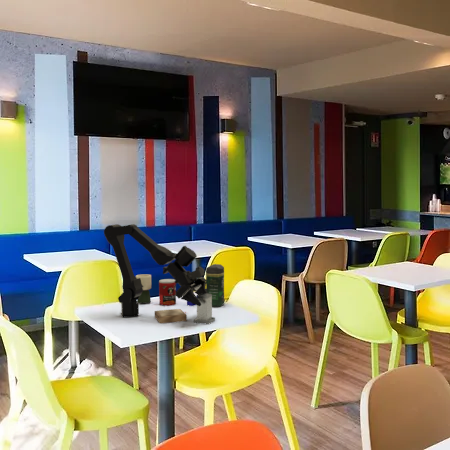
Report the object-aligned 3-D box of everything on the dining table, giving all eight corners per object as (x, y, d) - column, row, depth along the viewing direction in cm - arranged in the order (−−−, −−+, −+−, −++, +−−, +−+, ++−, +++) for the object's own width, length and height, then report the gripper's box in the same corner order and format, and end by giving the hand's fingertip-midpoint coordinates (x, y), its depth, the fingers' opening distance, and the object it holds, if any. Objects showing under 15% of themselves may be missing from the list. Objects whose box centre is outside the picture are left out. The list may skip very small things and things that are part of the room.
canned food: (163, 306, 245) (162, 282, 244) (156, 303, 252) (156, 279, 251) (178, 304, 249) (178, 281, 248) (172, 301, 256) (171, 278, 255)
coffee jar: (221, 307, 242) (220, 266, 240) (204, 306, 244) (203, 266, 242) (226, 303, 251) (225, 263, 250) (209, 302, 253) (209, 262, 252)
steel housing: (193, 322, 216) (193, 295, 215) (200, 319, 222) (200, 292, 221) (208, 324, 213) (208, 296, 213) (215, 320, 220) (214, 293, 219)
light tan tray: (159, 323, 216) (159, 316, 215) (154, 317, 226) (154, 310, 226) (186, 320, 219) (186, 314, 219) (180, 314, 229) (180, 308, 229)
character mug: (141, 300, 259) (140, 273, 258) (155, 300, 258) (154, 273, 257) (132, 305, 249) (131, 277, 248) (146, 305, 247) (146, 277, 246)
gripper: (182, 264, 209) (208, 294, 206) (201, 258, 226) (226, 285, 223) (164, 283, 213) (190, 313, 209) (185, 275, 230) (209, 303, 227)
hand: (205, 303), depth 217 cm, fingers open, 9 cm apart
